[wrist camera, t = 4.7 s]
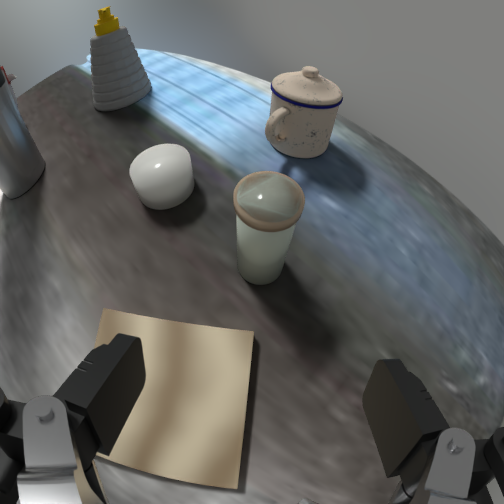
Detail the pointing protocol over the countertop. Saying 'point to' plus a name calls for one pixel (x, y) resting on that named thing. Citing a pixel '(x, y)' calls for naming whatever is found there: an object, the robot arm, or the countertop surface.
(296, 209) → the jar
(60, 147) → the countertop surface
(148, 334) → the board
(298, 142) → the teacup with lid
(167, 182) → the white domed cylinder
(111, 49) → the soap bottle
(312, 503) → the coffee box
